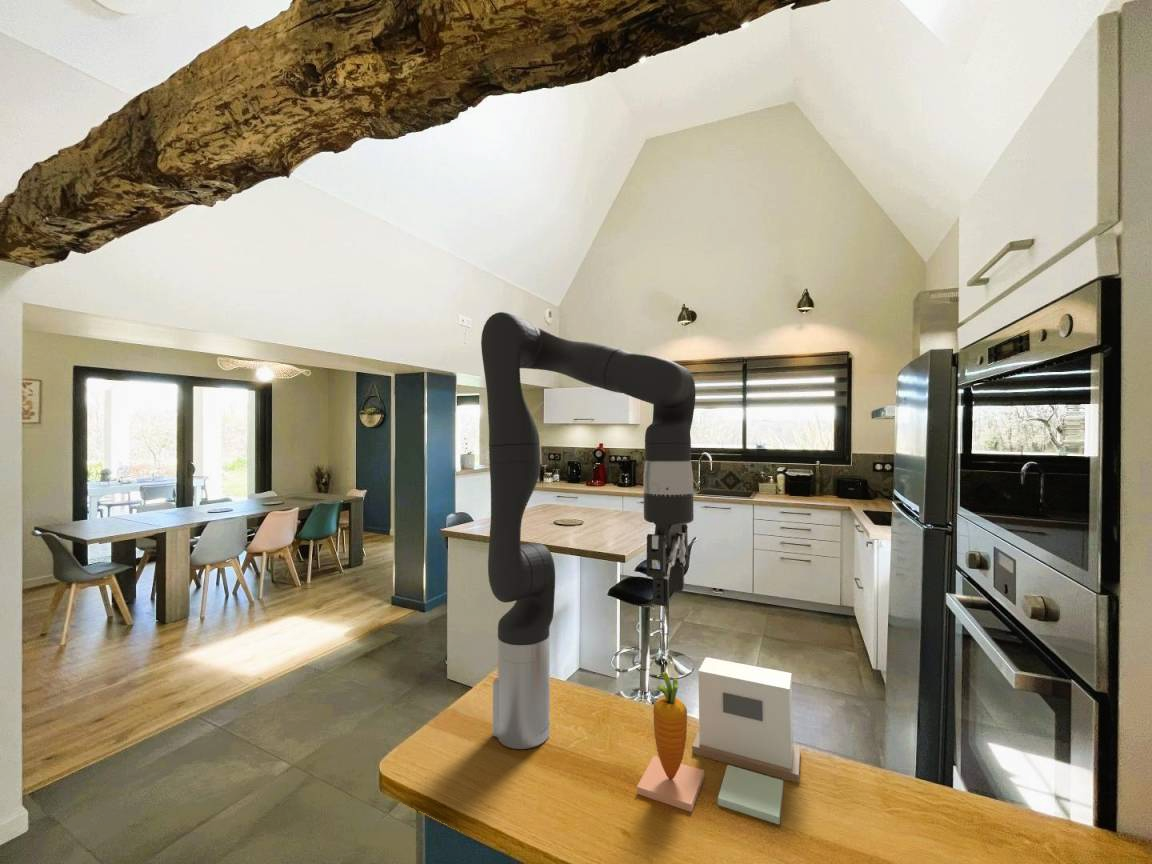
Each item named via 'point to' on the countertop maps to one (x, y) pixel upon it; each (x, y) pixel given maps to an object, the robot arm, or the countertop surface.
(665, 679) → the carrot
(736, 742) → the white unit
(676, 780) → the terracotta tile
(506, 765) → the countertop surface
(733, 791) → the sage tile
